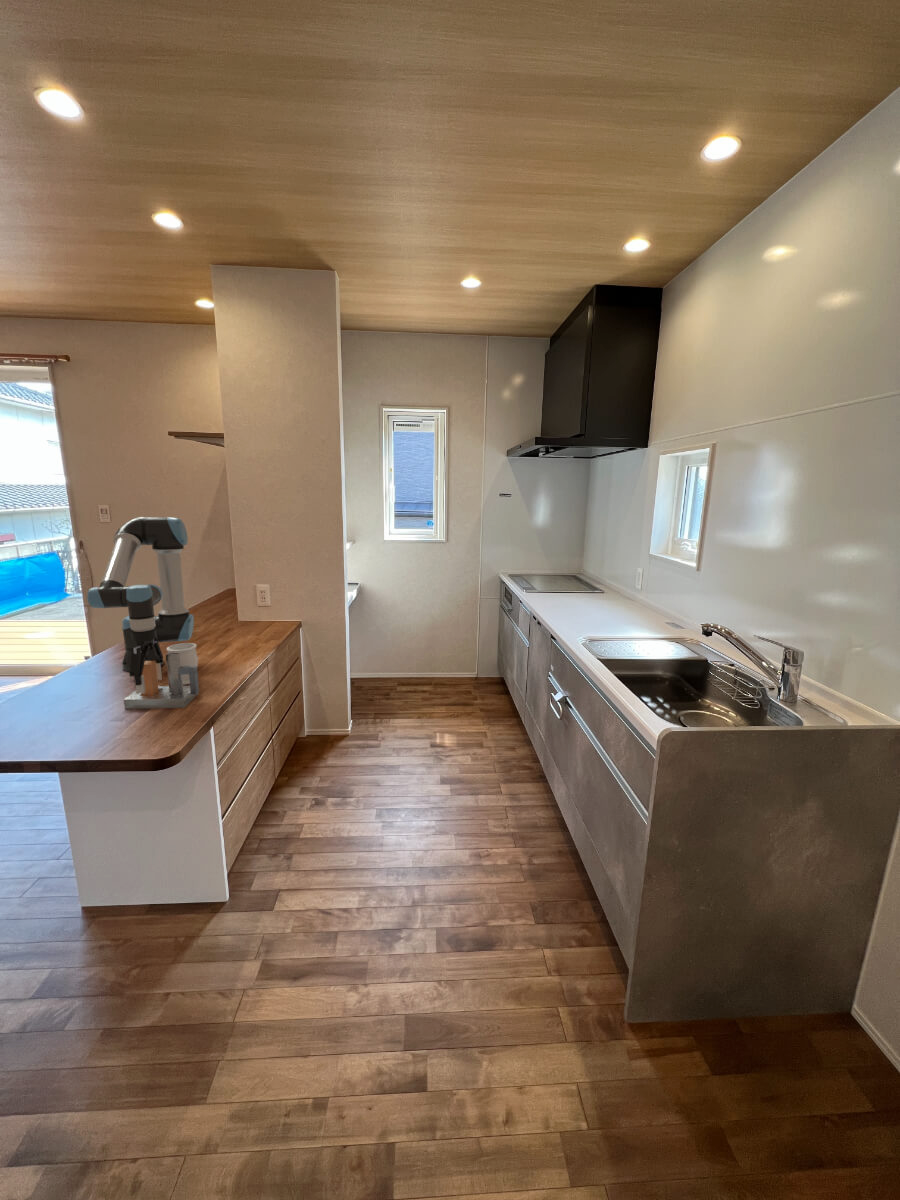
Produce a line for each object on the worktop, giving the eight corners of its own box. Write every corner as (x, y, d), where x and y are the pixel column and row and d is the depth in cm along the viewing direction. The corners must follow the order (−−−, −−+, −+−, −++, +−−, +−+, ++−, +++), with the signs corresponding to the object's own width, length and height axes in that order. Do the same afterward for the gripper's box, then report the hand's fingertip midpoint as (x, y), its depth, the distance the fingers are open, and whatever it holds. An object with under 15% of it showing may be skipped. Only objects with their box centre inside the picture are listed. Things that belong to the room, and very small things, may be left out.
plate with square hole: (142, 694, 180) (137, 649, 176) (204, 694, 182) (201, 649, 179) (124, 708, 168) (118, 660, 164) (191, 707, 171) (187, 660, 167)
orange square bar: (148, 699, 176) (143, 660, 173) (159, 699, 177) (155, 660, 174) (142, 703, 173) (138, 664, 169) (154, 703, 173) (150, 664, 170)
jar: (194, 674, 201) (191, 641, 198) (203, 682, 194) (200, 647, 190) (166, 681, 193) (163, 645, 190) (174, 688, 186) (170, 652, 183)
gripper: (148, 620, 180) (154, 674, 184) (112, 638, 157) (120, 699, 161) (169, 620, 181) (175, 673, 185) (136, 638, 158) (143, 699, 162)
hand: (149, 686), depth 173 cm, fingers open, 11 cm apart
